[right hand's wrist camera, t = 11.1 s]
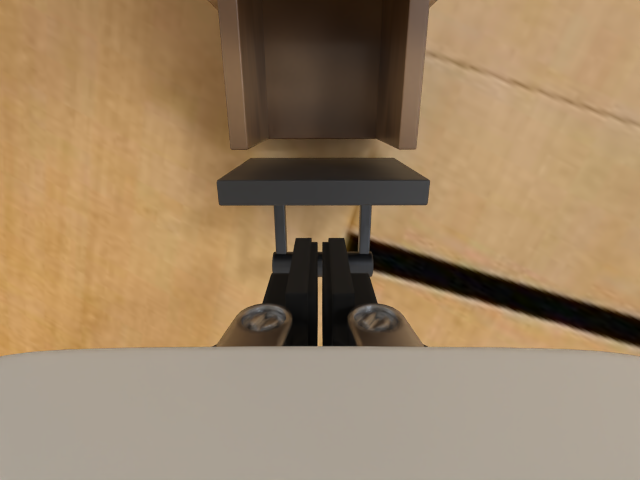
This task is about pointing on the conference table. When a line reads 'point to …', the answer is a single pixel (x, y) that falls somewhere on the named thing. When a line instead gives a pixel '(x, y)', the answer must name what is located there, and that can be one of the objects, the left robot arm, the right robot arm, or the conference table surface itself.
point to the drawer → (323, 105)
